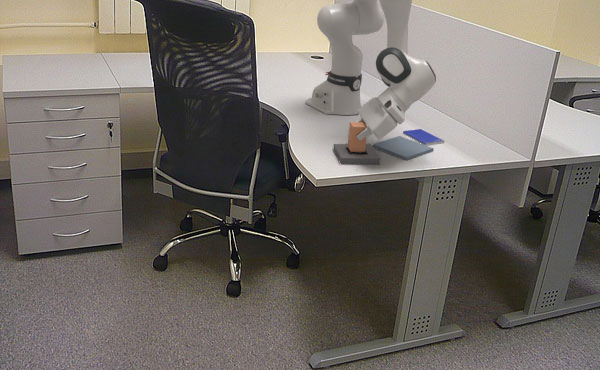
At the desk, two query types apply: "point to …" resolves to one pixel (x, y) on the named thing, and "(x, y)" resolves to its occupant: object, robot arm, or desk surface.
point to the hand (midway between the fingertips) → (355, 134)
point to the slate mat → (402, 147)
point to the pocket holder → (346, 158)
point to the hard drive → (423, 137)
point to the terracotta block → (353, 141)
